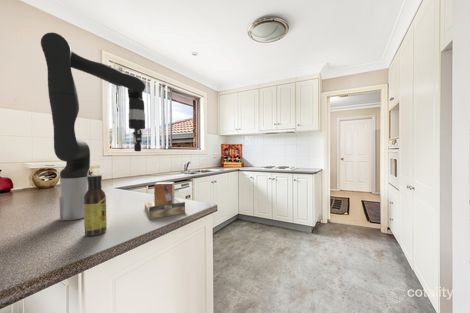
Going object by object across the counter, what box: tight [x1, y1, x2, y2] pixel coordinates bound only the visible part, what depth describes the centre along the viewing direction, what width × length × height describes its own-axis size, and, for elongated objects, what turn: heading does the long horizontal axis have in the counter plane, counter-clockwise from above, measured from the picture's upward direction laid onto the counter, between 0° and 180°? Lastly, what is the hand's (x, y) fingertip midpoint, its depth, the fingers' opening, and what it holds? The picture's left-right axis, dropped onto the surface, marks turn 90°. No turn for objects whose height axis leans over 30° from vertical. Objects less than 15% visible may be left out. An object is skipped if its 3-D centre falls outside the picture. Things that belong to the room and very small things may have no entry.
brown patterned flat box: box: [144, 198, 186, 219], centre depth 94 cm, size 15×16×5 cm
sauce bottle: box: [83, 174, 107, 237], centre depth 69 cm, size 6×6×20 cm
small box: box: [153, 181, 175, 206], centre depth 92 cm, size 8×6×10 cm
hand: (137, 151), depth 102 cm, fingers open, 8 cm apart
